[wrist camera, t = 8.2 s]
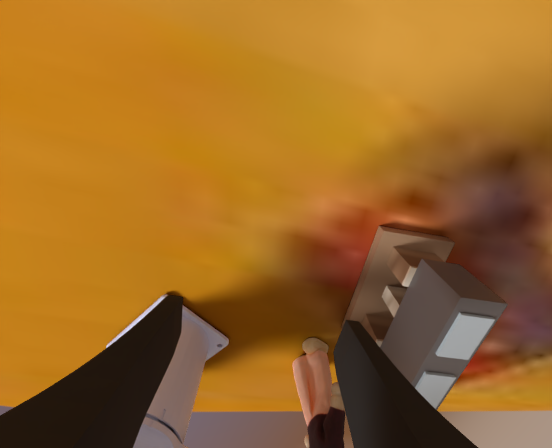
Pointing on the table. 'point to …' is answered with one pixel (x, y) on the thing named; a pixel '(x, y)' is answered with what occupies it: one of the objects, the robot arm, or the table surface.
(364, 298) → the stand
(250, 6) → the table surface
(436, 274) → the bar
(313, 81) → the table surface
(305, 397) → the grandmother figurine
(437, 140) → the table surface
